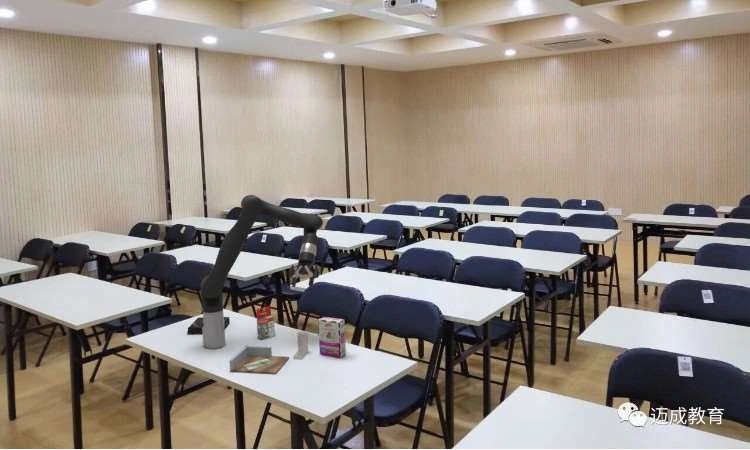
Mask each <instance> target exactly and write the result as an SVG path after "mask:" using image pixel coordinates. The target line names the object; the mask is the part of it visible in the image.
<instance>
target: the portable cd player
mask: <svg viewBox="0 0 750 450" xmlns="http://www.w3.org/2000/svg"><path fill="white" fill-rule="evenodd" d="M230 320H231V319H230V317H229V316H224V329H225V330H226V329H227V328H228V326H229V325H230V324H231V323H230ZM188 326H189V325H188ZM202 327H204V321H203V317H197V318H196V319H195V320H194V321H192V323H191V324H190V326H189V327H187V332H186V334H187V335H189V336H191V335H193V336H194V335H203V333H202Z"/></svg>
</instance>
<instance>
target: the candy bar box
mask: <svg viewBox="0 0 750 450" xmlns="http://www.w3.org/2000/svg"><path fill="white" fill-rule="evenodd" d="M345 322H346V320H345V319H344V318H335V317H331V316H330V317H327V316H322V317H321V318H319V319H318V338H319V339H318V340H319V354H320V355H322V356H326V357H332V358H338V359H341V358H342V357H344V356H346V354H347V353H346V351H347V350H346V349H347V348H346V323H345Z"/></svg>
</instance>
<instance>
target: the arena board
mask: <svg viewBox="0 0 750 450" xmlns="http://www.w3.org/2000/svg"><path fill="white" fill-rule="evenodd" d="M289 359H290V356H281V355H272V356H271V357H262V356H247V357H246V358H245V359H244V360H243V361H242V362H241V363H240V364H239V365H238V366H237V367H236V368H234V369H233V371H232V370H230V369H229V371H230V373H245V374H266V375H277V373H278V372H279V371H280V370H281V369H282V368H283V366H285V364H286V363H287V362H288V360H289Z"/></svg>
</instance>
